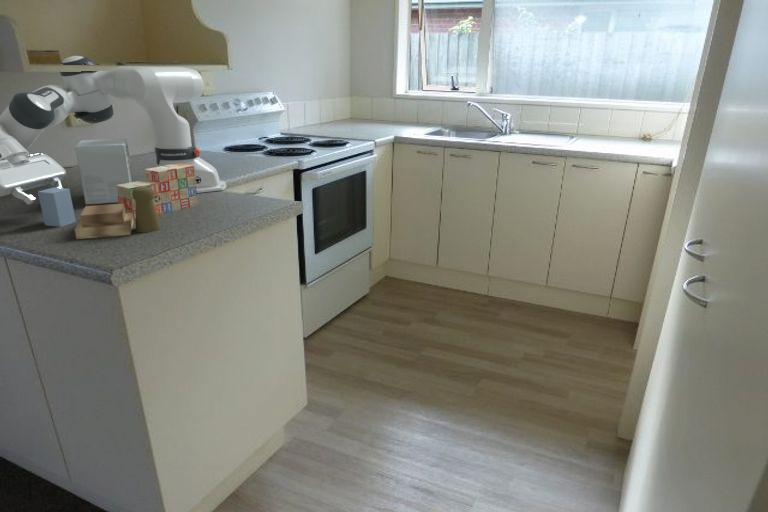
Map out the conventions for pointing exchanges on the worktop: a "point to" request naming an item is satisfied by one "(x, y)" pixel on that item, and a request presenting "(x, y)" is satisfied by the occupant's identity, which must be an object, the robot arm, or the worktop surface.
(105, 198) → the supplement box
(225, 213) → the worktop surface
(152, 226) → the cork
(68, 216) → the pillar
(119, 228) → the plinth
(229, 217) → the worktop surface
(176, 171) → the stack of blocks
